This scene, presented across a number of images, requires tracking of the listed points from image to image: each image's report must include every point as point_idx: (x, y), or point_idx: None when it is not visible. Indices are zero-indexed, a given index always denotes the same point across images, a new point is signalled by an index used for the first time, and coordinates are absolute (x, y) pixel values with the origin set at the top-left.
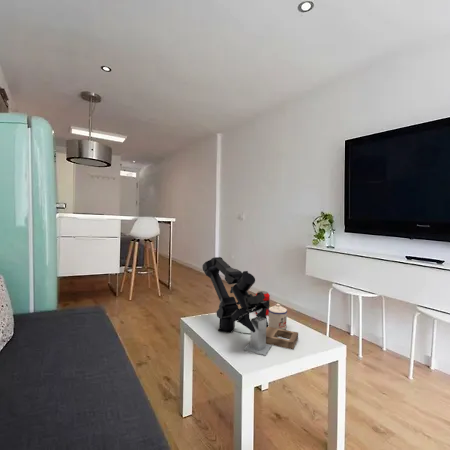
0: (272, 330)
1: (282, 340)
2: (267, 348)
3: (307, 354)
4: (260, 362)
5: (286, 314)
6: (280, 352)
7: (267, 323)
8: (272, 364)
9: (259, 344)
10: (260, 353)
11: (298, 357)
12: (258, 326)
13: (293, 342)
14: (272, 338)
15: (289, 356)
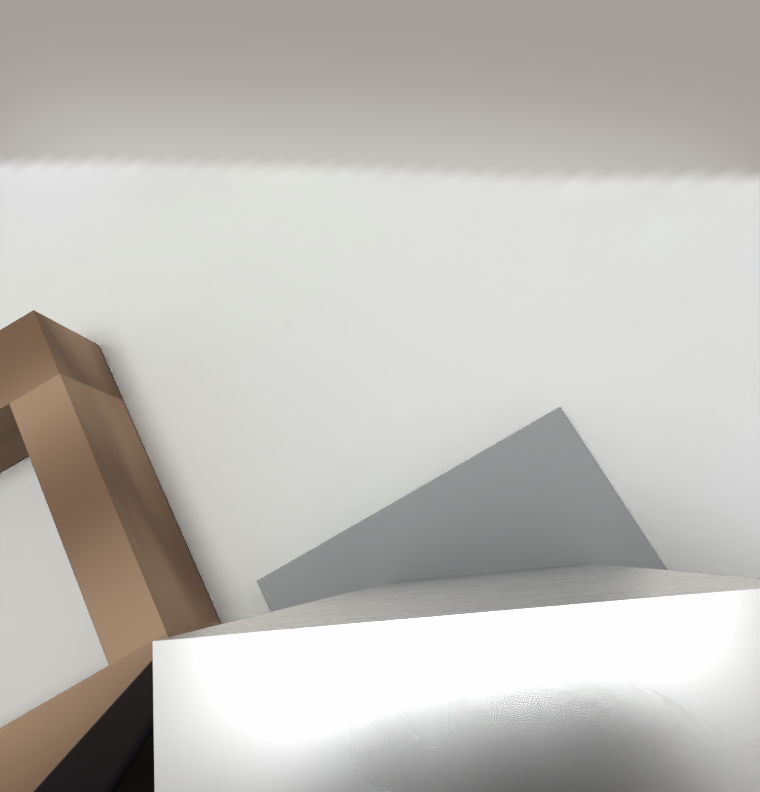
0: None
1: (98, 458)
2: (389, 539)
3: (69, 175)
4: (747, 312)
5: None
6: (294, 376)
7: (125, 703)
8: (625, 198)
9: (559, 569)
10: (602, 478)
11: (211, 173)
12: (718, 577)
13: (25, 320)
14: (167, 622)
15: (280, 241)
